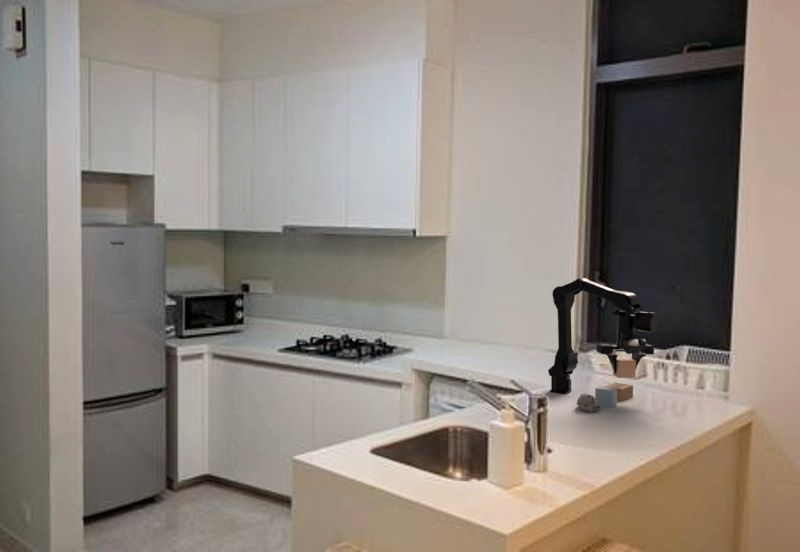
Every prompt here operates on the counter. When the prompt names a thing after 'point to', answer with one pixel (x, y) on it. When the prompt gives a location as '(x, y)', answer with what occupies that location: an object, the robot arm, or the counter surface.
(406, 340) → the counter surface
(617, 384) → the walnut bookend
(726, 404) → the counter surface
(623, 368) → the terracotta clay cube
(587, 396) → the mineral specimen
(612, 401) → the light blue block
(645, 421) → the counter surface
